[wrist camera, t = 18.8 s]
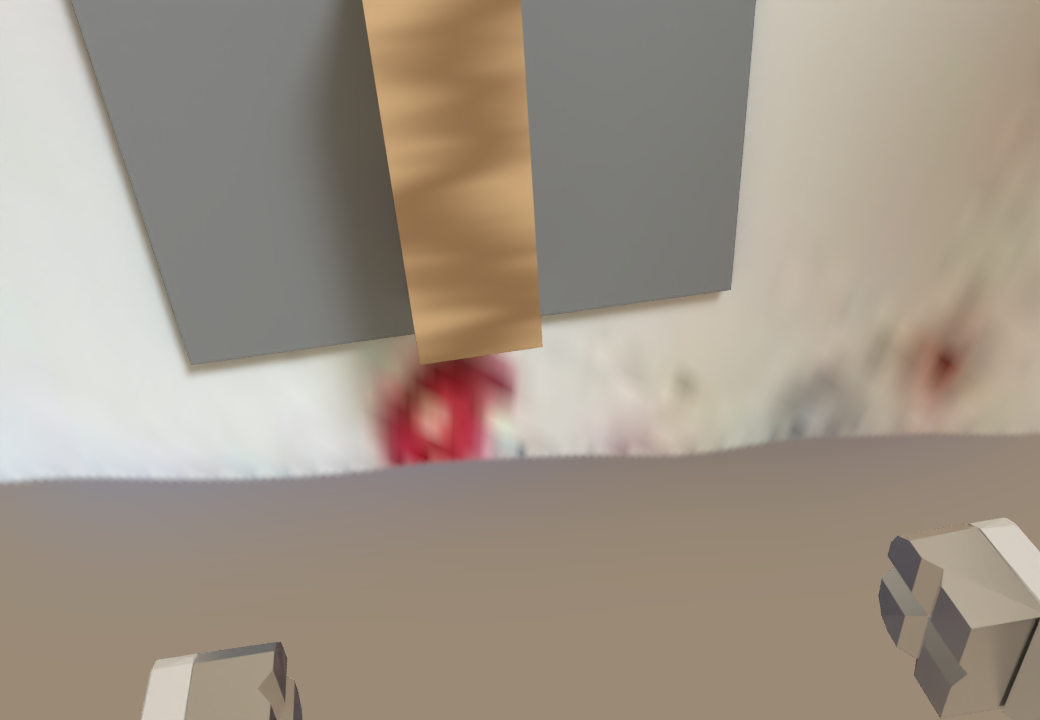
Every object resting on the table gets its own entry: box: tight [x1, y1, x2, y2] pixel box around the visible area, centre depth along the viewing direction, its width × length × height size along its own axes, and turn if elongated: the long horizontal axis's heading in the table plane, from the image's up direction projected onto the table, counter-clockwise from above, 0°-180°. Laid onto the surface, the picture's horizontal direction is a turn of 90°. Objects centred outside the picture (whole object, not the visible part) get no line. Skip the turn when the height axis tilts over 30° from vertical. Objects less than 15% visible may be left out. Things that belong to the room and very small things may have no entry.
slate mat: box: [71, 0, 756, 365], centre depth 29 cm, size 20×16×1 cm
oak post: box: [362, 0, 542, 365], centre depth 28 cm, size 4×4×12 cm
